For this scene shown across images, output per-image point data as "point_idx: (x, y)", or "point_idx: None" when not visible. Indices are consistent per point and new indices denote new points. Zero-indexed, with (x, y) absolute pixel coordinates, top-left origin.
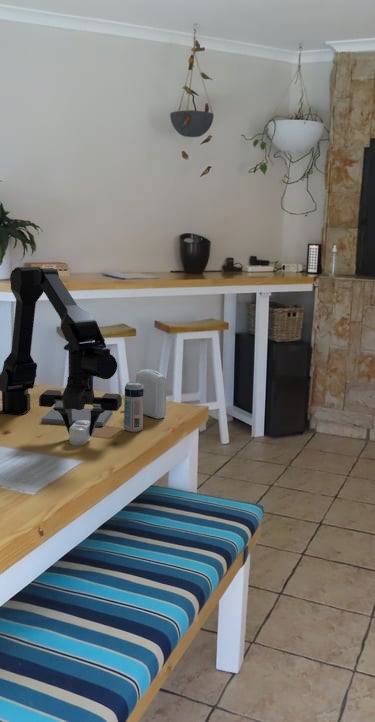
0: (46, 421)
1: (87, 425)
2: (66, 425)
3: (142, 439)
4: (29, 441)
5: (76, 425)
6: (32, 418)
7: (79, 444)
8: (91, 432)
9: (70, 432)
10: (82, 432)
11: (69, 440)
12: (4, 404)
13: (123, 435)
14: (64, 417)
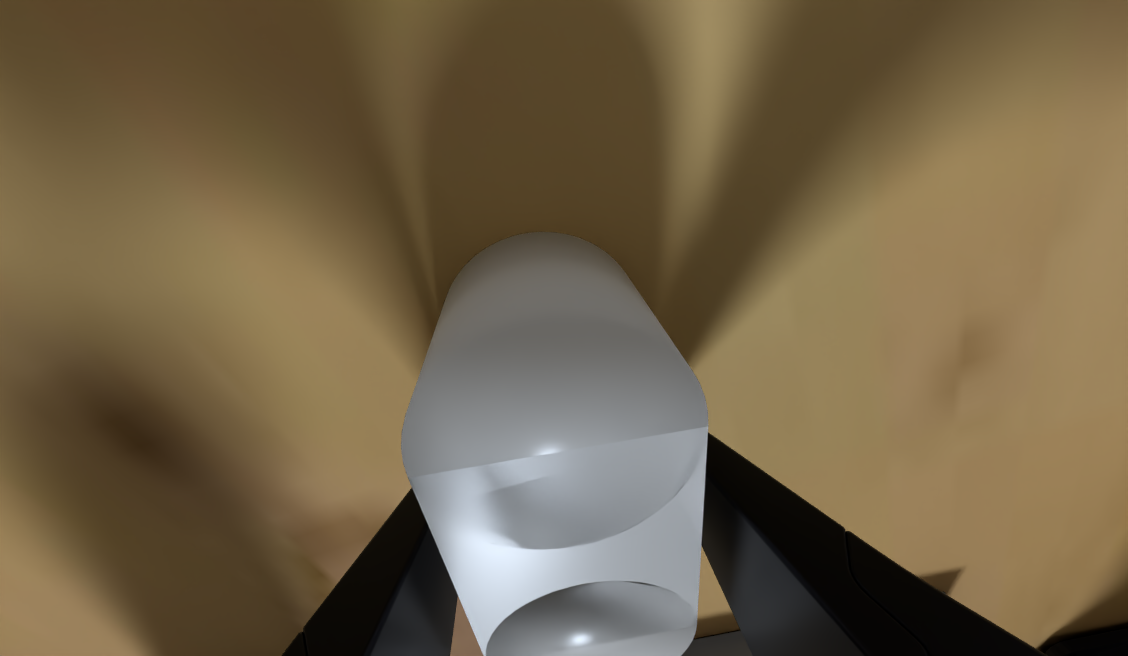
0: None
1: (484, 594)
2: (781, 494)
3: (8, 607)
4: (1091, 176)
5: (636, 545)
6: (996, 623)
7: (482, 251)
8: (409, 497)
9: (649, 318)
10: (427, 361)
11: (636, 289)
12: None
13: (252, 616)
14: (935, 623)
